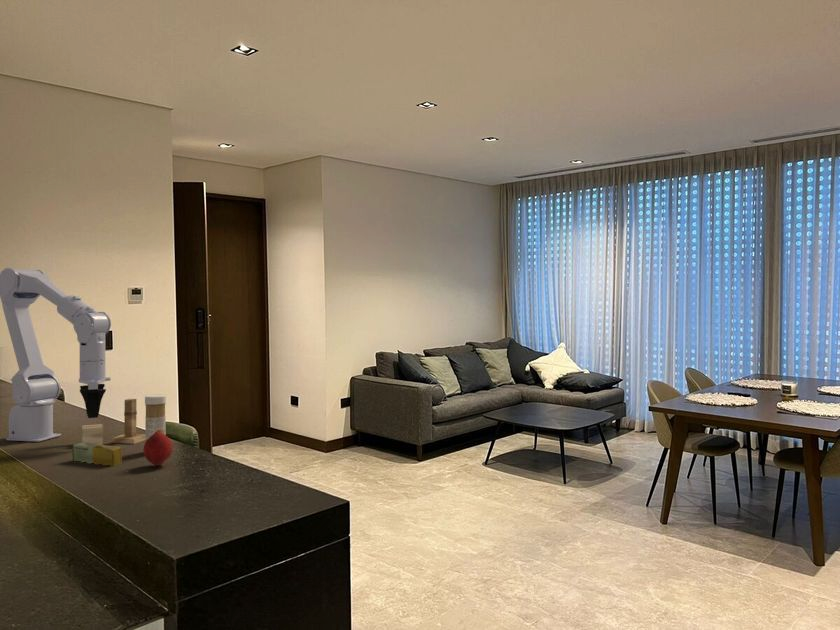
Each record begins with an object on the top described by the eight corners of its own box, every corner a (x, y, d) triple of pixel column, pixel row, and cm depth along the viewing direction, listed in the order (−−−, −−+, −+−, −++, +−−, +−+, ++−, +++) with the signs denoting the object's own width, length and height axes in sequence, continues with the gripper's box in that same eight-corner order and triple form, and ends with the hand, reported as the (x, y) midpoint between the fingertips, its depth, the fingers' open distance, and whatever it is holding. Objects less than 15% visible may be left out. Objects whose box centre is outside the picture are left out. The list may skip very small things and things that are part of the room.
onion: (161, 470, 132) (162, 432, 132) (137, 468, 133) (137, 431, 133) (178, 463, 138) (178, 427, 138) (154, 462, 139) (154, 426, 139)
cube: (82, 443, 157) (82, 425, 157) (102, 441, 159) (102, 424, 159) (82, 447, 153) (82, 428, 153) (102, 445, 156) (102, 427, 155)
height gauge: (112, 442, 158) (112, 400, 158) (126, 437, 164) (126, 397, 164) (134, 443, 157) (134, 401, 157) (148, 438, 163) (148, 398, 163)
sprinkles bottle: (162, 448, 152) (162, 393, 152) (168, 452, 148) (168, 395, 148) (142, 451, 149) (142, 394, 149) (148, 455, 145) (148, 397, 145)
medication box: (71, 462, 139) (71, 444, 139) (81, 459, 142) (81, 441, 142) (113, 467, 135) (112, 449, 135) (123, 464, 138) (122, 446, 137)
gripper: (111, 362, 152) (111, 418, 152) (109, 358, 164) (109, 409, 165) (78, 363, 148) (78, 420, 148) (78, 359, 161) (78, 411, 161)
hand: (92, 415), depth 156 cm, fingers open, 7 cm apart
